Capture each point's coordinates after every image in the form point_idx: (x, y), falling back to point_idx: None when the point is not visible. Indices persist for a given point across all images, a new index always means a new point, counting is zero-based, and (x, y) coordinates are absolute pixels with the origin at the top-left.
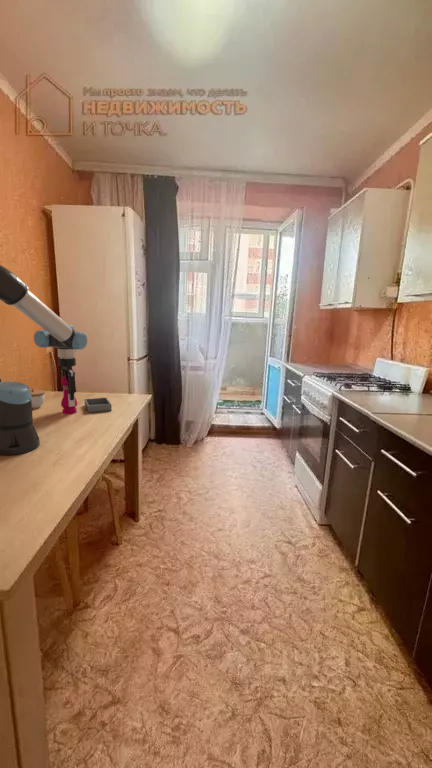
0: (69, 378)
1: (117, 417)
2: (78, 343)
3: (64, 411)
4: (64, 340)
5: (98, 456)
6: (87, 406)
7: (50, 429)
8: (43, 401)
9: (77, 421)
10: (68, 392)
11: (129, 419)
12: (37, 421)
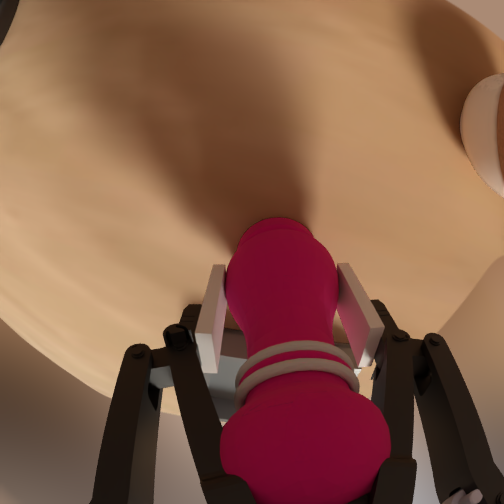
0: (94, 483)
1: (112, 374)
2: None
3: (259, 227)
4: None
5: None
6: (239, 350)
7: (40, 111)
8: (480, 176)
9: (95, 243)
10: (164, 338)
11: (86, 383)
12: (186, 50)
